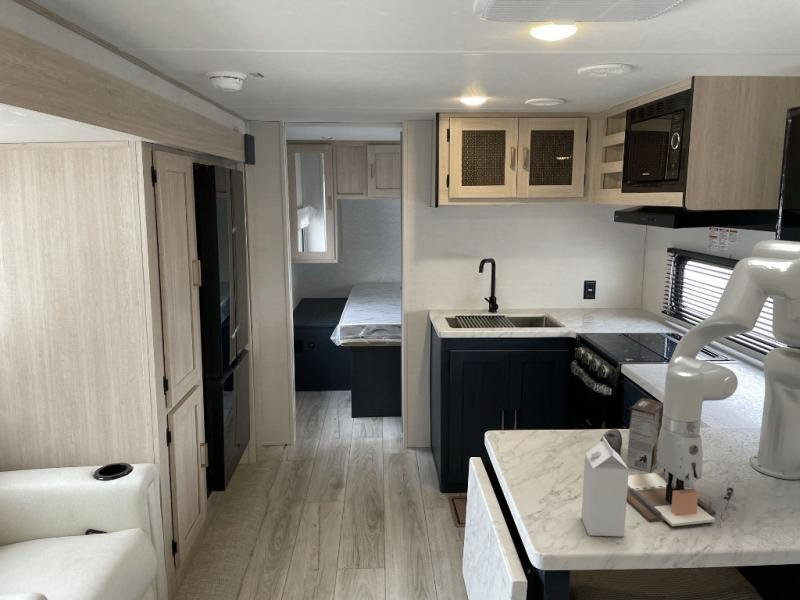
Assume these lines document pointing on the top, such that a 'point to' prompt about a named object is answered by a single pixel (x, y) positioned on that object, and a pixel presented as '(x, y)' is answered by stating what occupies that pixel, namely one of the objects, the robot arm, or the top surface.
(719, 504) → the chef's knife
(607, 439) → the perforated stone tool
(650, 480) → the ticket board
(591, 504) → the milk carton
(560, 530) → the top surface
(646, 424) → the coffee box
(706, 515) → the ticket stub
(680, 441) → the robot arm
